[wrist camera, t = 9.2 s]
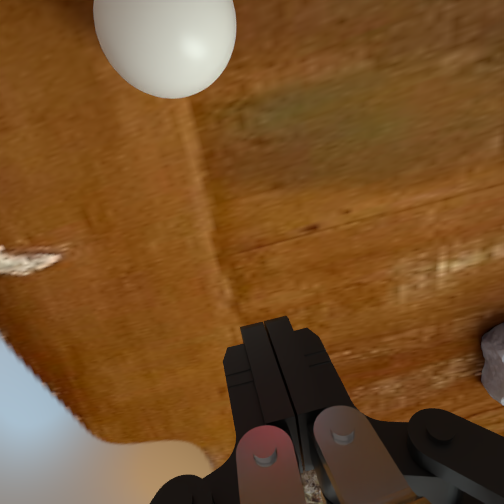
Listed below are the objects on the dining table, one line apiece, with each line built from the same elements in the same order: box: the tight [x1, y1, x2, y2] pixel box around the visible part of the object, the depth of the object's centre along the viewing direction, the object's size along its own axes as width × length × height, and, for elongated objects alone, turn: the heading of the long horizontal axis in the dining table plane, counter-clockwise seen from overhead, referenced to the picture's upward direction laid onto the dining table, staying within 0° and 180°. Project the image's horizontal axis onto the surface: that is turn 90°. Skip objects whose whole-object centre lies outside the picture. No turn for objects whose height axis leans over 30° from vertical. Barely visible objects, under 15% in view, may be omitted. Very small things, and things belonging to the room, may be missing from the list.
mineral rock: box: [301, 466, 324, 504], centre depth 42 cm, size 11×4×8 cm
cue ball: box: [93, 0, 236, 99], centre depth 18 cm, size 6×6×6 cm
